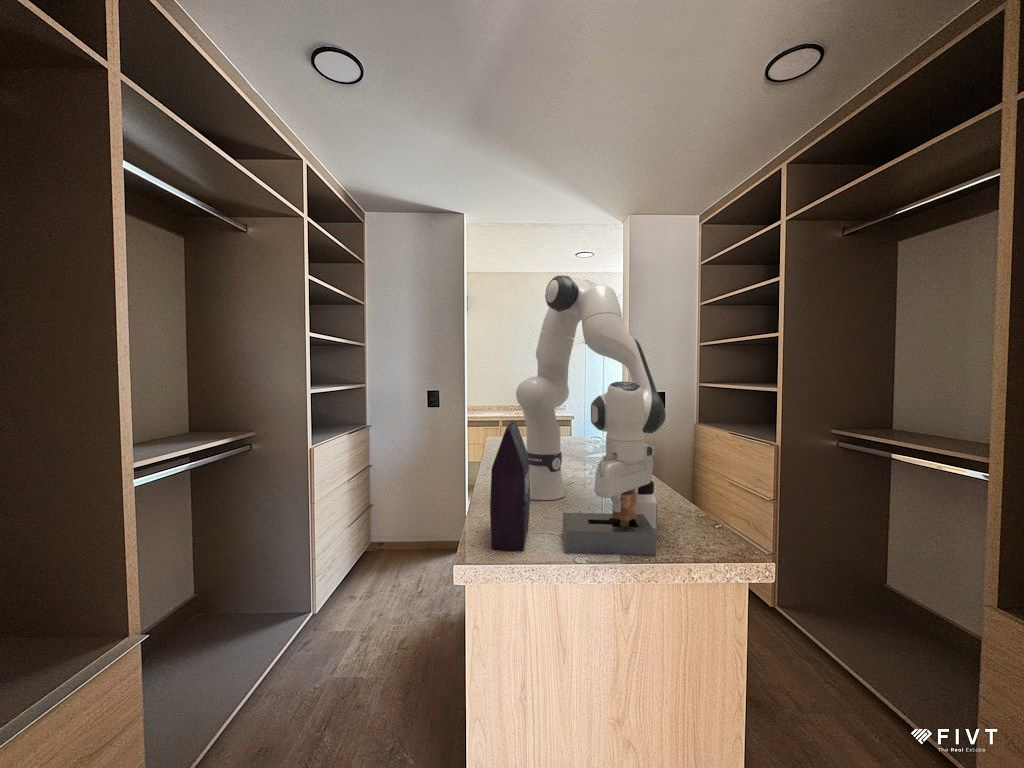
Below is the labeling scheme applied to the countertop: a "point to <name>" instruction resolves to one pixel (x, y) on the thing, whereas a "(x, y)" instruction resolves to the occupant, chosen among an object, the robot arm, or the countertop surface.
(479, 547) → the countertop surface
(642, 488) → the medicine bottle
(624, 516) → the slider
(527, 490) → the decorative box
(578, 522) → the keyhole plate
